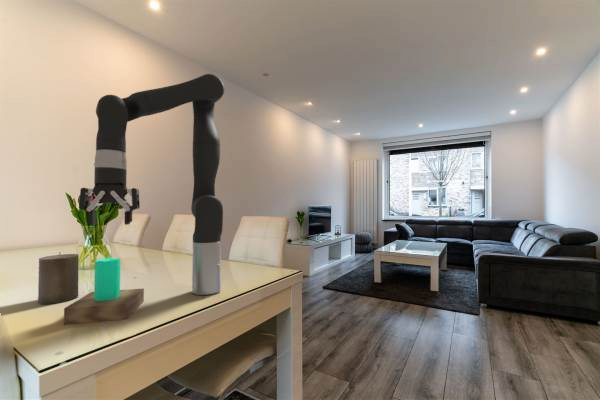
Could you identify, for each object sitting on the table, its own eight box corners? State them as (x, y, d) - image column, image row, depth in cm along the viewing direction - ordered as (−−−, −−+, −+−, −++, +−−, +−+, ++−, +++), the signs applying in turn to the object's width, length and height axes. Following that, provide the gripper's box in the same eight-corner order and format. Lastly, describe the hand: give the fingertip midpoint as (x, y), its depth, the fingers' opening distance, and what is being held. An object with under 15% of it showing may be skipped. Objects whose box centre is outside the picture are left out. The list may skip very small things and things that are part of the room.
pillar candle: (84, 297, 90) (85, 250, 91) (47, 306, 81) (48, 255, 82) (68, 293, 94) (69, 249, 95) (30, 302, 85) (32, 253, 86)
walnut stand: (143, 301, 85) (143, 288, 86) (127, 319, 72) (127, 303, 72) (91, 305, 82) (91, 291, 82) (63, 324, 68) (64, 308, 69)
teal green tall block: (107, 301, 74) (108, 256, 74) (88, 300, 75) (89, 255, 75) (125, 294, 79) (126, 252, 80) (107, 293, 80) (108, 252, 81)
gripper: (142, 170, 84) (142, 223, 83) (88, 168, 80) (87, 224, 80) (134, 166, 77) (133, 225, 76) (74, 165, 73) (73, 226, 73)
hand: (110, 224), depth 78 cm, fingers open, 8 cm apart
